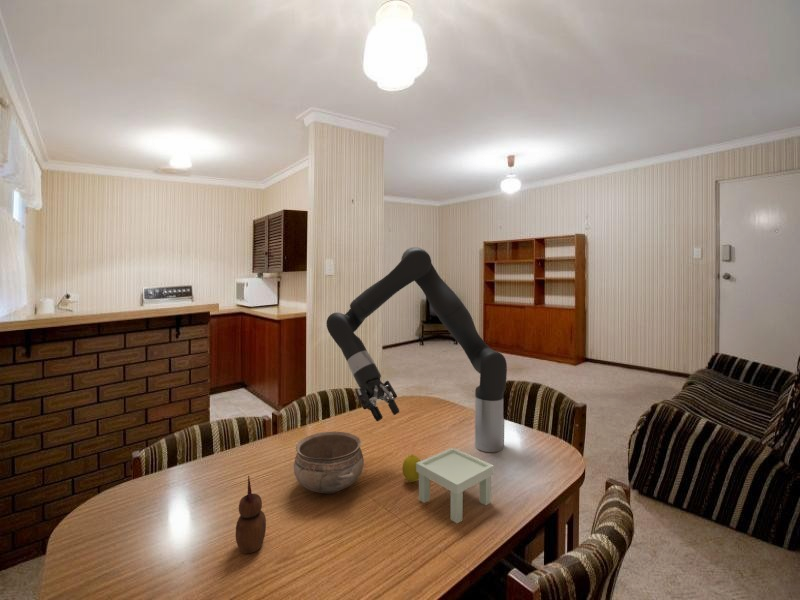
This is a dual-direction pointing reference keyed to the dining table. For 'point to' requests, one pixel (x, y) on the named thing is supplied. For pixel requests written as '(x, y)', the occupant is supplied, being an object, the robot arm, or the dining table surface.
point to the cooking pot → (328, 461)
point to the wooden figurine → (250, 523)
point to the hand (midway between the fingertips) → (388, 416)
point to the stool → (455, 477)
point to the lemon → (410, 468)
